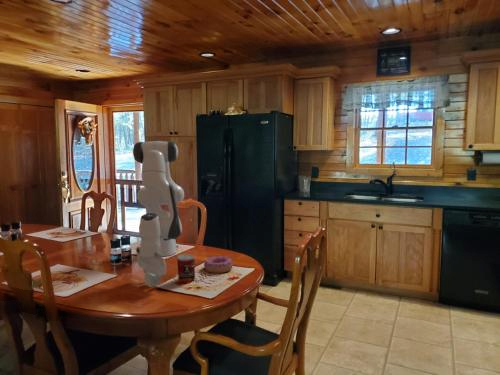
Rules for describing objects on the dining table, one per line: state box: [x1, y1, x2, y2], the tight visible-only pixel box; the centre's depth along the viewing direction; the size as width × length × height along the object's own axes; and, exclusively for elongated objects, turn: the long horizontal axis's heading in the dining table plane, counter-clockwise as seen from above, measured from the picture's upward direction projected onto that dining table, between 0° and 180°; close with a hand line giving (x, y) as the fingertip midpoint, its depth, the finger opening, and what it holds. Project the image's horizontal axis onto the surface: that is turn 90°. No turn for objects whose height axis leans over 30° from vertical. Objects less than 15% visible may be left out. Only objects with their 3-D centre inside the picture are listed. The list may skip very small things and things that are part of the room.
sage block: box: [144, 272, 161, 288], centre depth 167 cm, size 5×5×5 cm
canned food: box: [177, 253, 196, 284], centre depth 172 cm, size 8×8×11 cm
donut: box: [203, 255, 234, 274], centre depth 187 cm, size 14×14×5 cm
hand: (152, 280), depth 167 cm, fingers open, 8 cm apart
